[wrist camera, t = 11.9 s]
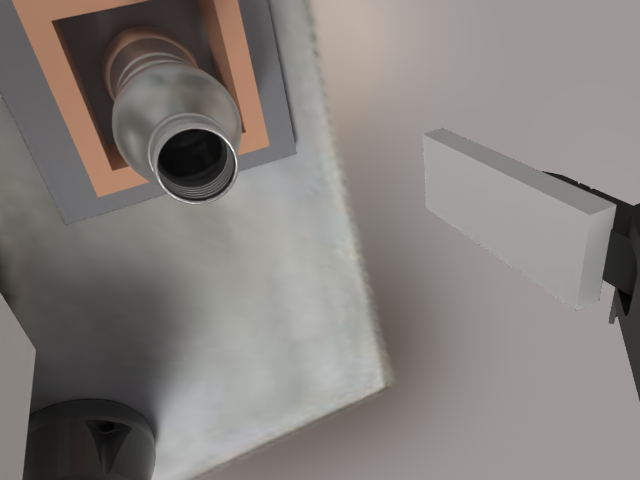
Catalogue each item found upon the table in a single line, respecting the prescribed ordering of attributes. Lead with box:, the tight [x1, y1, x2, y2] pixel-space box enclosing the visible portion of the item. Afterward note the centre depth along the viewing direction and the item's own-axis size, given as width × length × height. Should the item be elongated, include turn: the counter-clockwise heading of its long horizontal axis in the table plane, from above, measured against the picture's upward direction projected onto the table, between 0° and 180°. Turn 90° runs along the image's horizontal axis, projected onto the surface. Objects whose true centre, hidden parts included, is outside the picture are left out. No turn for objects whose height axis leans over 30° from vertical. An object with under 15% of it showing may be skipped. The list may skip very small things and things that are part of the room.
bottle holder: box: [0, 0, 297, 225], centre depth 36 cm, size 20×20×7 cm
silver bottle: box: [101, 26, 242, 205], centre depth 30 cm, size 6×7×20 cm
